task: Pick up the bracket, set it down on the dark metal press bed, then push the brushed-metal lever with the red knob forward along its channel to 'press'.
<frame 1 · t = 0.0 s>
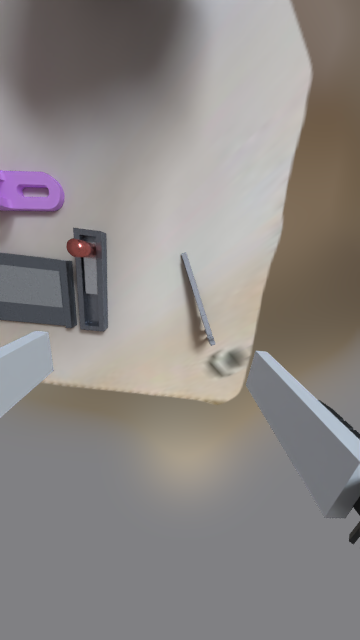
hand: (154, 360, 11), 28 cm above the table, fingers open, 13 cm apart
caliper: (197, 298, 39), on the table
press bed: (31, 290, 36), on the table
lever: (85, 269, 32), point 4 cm above the table, slide at 0.0 cm
bracket: (29, 194, 31), on the table
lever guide: (95, 283, 36), on the table
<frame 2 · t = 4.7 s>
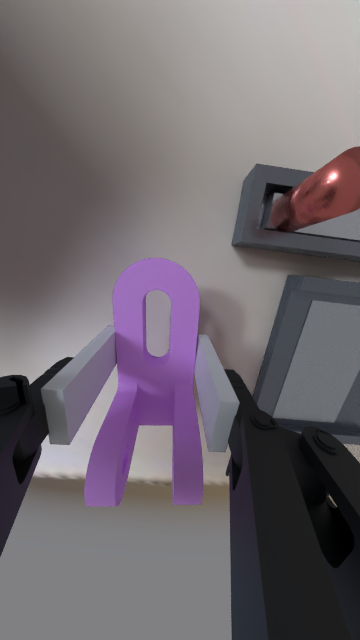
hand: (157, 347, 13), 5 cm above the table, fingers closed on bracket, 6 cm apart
press bed: (323, 363, 19), on the table
lever: (357, 210, 11), point 4 cm above the table, slide at 0.0 cm
bracket: (158, 345, 14), point 4 cm above the table, touching gripper
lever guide: (345, 229, 15), on the table
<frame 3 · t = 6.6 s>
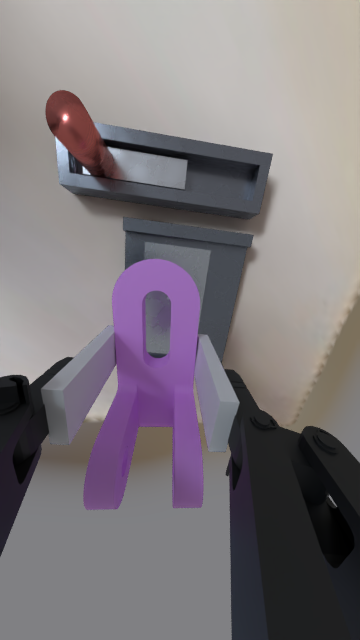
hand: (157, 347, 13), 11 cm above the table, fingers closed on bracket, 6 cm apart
press bed: (179, 303, 23), on the table
lever: (130, 154, 15), point 4 cm above the table, slide at 0.0 cm
bracket: (158, 346, 13), point 10 cm above the table, touching gripper
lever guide: (166, 180, 18), on the table
when the fingers open (2 cm above the table, at t = 8.4 s): bracket stays where it is, resting on press bed.
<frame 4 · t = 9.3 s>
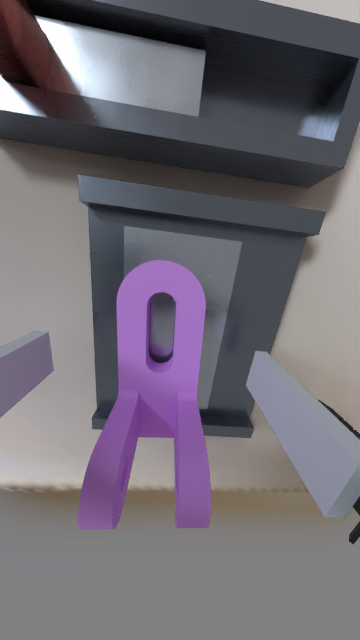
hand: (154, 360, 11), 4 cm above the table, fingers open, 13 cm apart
press bed: (185, 329, 14), on the table
lever: (72, 3, 6), point 4 cm above the table, slide at 0.0 cm
bracket: (161, 351, 13), point 2 cm above the table, touching press bed
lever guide: (163, 111, 10), on the table
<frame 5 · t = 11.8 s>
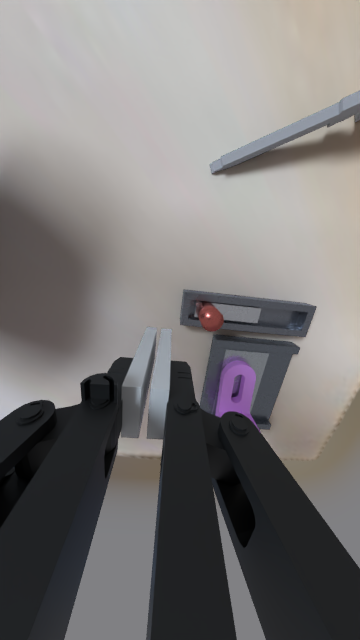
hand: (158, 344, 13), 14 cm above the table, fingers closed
caliper: (287, 143, 21), on the table
press bed: (241, 381, 32), on the table
lever: (232, 316, 24), point 4 cm above the table, slide at 0.0 cm
bracket: (233, 392, 31), point 2 cm above the table, touching press bed
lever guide: (242, 311, 28), on the table
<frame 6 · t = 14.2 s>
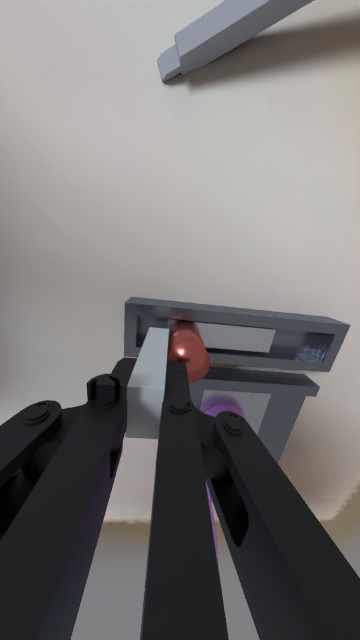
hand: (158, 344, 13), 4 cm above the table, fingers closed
caliper: (305, 21, 11), on the table
press bed: (230, 428, 22), on the table
lever: (227, 347, 14), point 4 cm above the table, slide at 1.7 cm, touching gripper
bracket: (217, 447, 21), point 2 cm above the table, touching press bed
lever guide: (228, 330, 18), on the table
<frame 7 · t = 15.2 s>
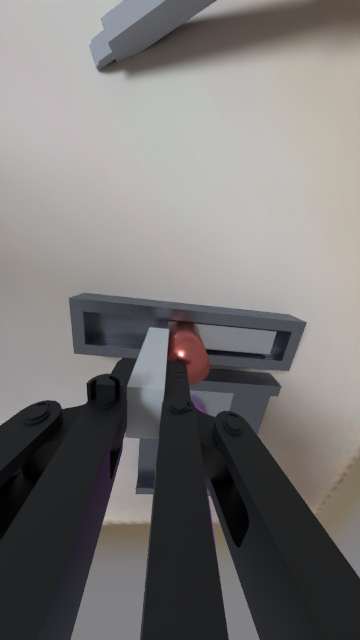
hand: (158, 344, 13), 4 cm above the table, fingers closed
caliper: (244, 7, 11), on the table
press bed: (197, 428, 22), on the table
lever: (227, 348, 14), point 4 cm above the table, slide at 6.0 cm, touching gripper
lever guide: (187, 328, 17), on the table
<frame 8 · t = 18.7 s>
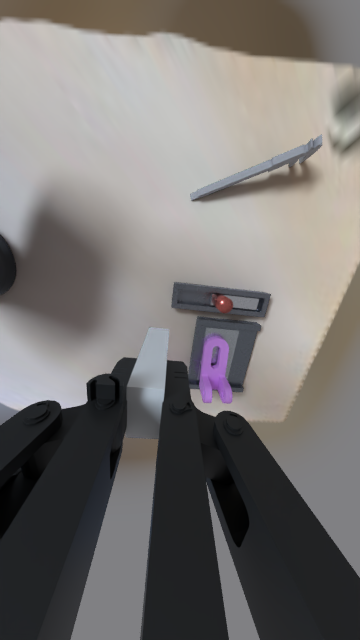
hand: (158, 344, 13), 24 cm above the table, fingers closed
caliper: (244, 180, 31), on the table
press bed: (219, 354, 41), on the table
lever: (238, 304, 34), point 4 cm above the table, slide at 6.1 cm
bracket: (213, 361, 40), point 2 cm above the table, touching press bed
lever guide: (218, 298, 37), on the table
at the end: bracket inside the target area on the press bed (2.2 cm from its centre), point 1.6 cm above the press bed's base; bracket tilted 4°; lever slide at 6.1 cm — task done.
